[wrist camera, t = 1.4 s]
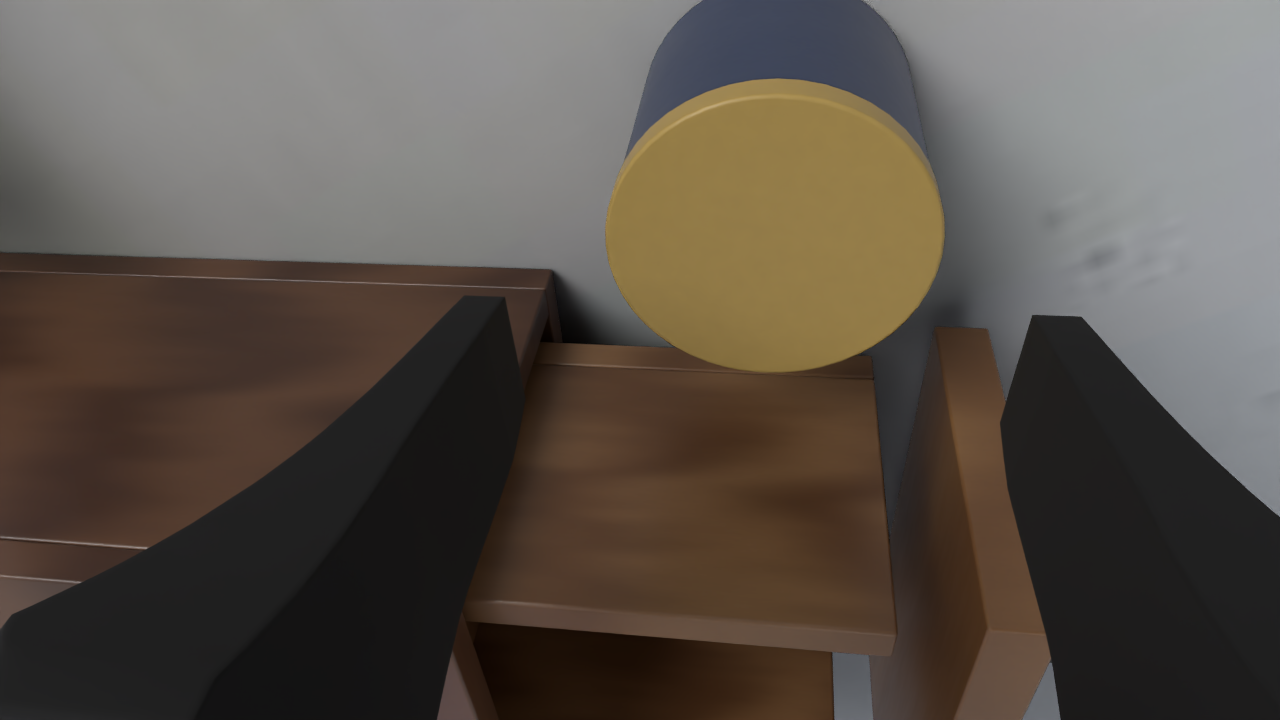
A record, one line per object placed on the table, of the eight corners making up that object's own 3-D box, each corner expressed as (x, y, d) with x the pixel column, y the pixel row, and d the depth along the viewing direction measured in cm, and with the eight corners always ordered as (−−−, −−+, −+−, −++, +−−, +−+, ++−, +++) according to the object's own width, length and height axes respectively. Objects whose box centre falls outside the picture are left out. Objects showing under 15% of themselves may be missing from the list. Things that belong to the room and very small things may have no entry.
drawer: (1202, 335, 20) (1368, 659, 14) (1050, 654, 29) (1114, 931, 23) (378, 304, 22) (233, 569, 16) (475, 607, 31) (403, 846, 25)
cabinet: (552, 268, 22) (437, 613, 15) (603, 603, 32) (547, 907, 25) (-19, 251, 24) (-357, 547, 17) (194, 571, 34) (35, 842, 27)
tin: (895, 226, 20) (917, 381, 16) (649, 221, 21) (617, 367, 17) (935, -31, 16) (976, 95, 13) (634, -27, 17) (589, 94, 13)
